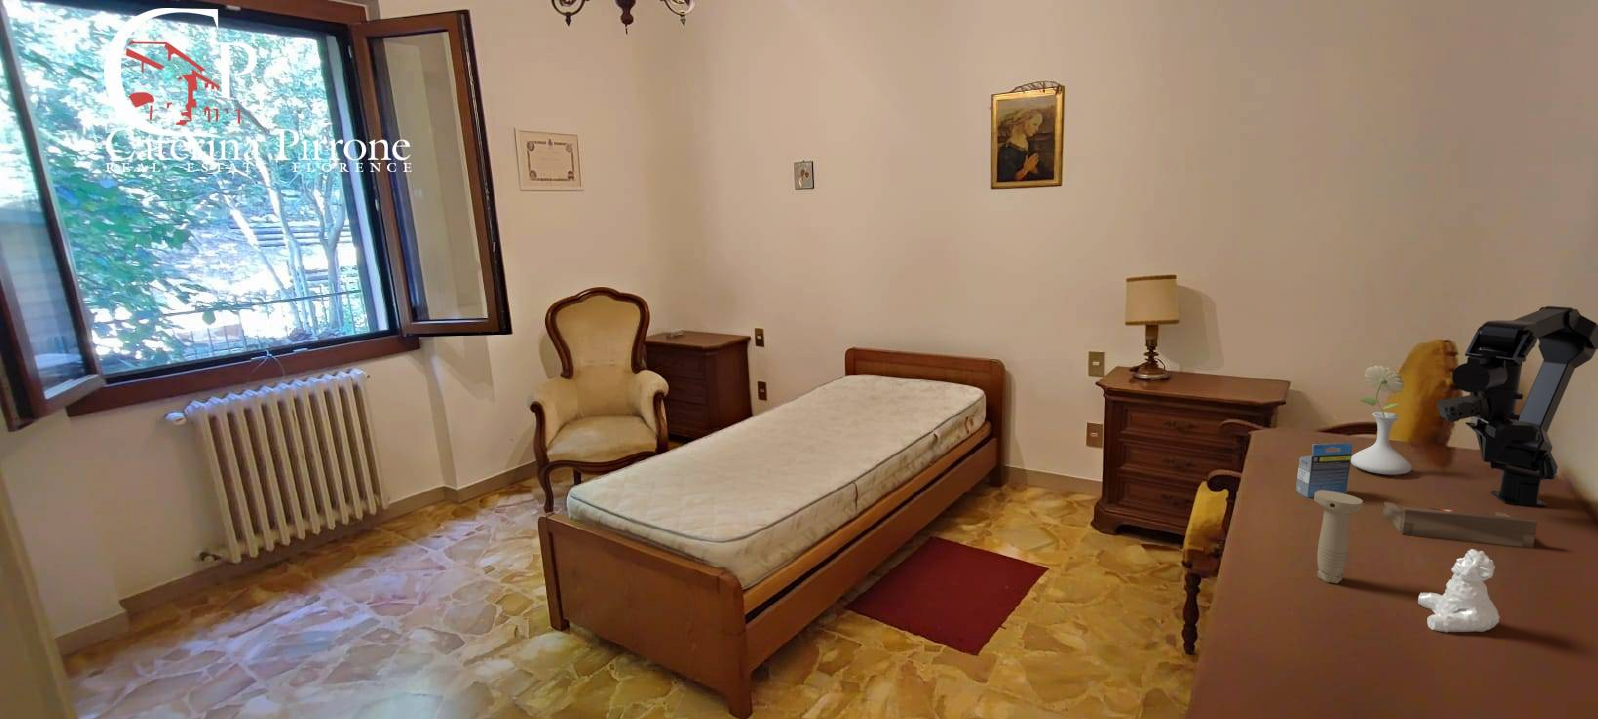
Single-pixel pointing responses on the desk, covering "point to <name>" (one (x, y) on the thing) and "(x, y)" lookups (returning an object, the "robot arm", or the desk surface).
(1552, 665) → the desk surface
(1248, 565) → the desk surface
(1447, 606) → the seated beast figurine
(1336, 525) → the handle
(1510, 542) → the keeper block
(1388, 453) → the flower in vase
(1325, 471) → the label tape box
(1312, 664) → the desk surface
